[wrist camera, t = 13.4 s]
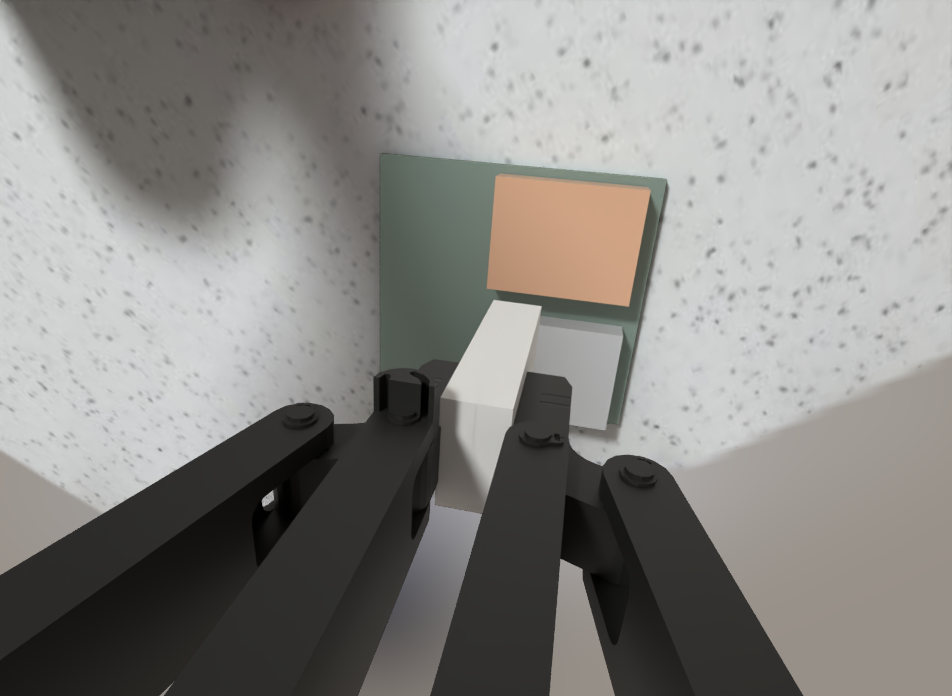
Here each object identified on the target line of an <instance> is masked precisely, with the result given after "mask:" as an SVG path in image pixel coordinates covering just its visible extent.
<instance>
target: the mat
mask: <svg viewBox="0 0 952 696" xmlns="http://www.w3.org/2000/svg"><path fill="white" fill-rule="evenodd" d="M500 173H502V174H513V175H524V176H534V177H545V178H556V179H567V180H577V181H588V182H599V183H610V184H620V185H631V186H642V187H648V188H649V189H650V190H651V192H650V197H649V203H648V208H647V213H646V219H645V224H644V229H643V234H642V240H641V245H640V250H639V256H638V261H637V266H636V271H635V277H634V282H633V287H632V293H631V298H630V303H629V307H628V306H620V305H612V304H604V303H597V302H589V301H581V300H573V299H565V298H557V297H549V296H541V295H533V294H525V293H517V292H509V291H502V290H494V289H487V278H488V266H489V253H490V241H491V228H492V216H493V203H494V191H495V178H496V176H497V175H498V174H500ZM666 183H667V179H663V178H652V177H641V176H630V175H619V174H608V173H596V172H585V171H574V170H563V169H552V168H541V167H530V166H519V165H508V164H497V163H486V162H475V161H464V160H453V159H442V158H431V157H420V156H409V155H398V154H386V153H381V154H380V372H383V371H386V370H389V369H396V368H412V369H417V370H418V369H419V368H420V367H421V366H422V365H423V364H425V363H427V362H429V361H431V360H433V359H437V360H444V361H451V362H458V363H460V361H461V359H462V357H463V355H464V354H465V352H466V350H467V348H468V346H469V344H470V342H471V341H472V339H473V337H474V335H475V333H476V331H477V330H478V328H479V326H480V324H481V322H482V320H483V319H484V317H485V315H486V313H487V311H488V309H489V308H490V306H491V304H492V302H493V300H498V301H505V302H513V303H521V304H528V305H536V306H542V307H541V315H540V316H545V317H553V318H561V319H568V320H576V321H583V322H591V323H598V324H606V325H614V326H621V327H622V331H623V340H622V345H621V351H620V356H619V361H618V366H617V372H616V377H615V382H614V388H613V393H612V398H611V403H610V409H609V414H608V419H607V423H609V424H616V425H618V424H619V419H620V414H621V409H622V404H623V399H624V394H625V388H626V383H627V378H628V373H629V368H630V363H631V358H632V353H633V348H634V343H635V338H636V333H637V328H638V323H639V318H640V313H641V308H642V303H643V298H644V293H645V288H646V283H647V278H648V273H649V268H650V263H651V258H652V253H653V248H654V243H655V238H656V233H657V228H658V223H659V218H660V213H661V208H662V203H663V198H664V193H665V188H666Z"/></svg>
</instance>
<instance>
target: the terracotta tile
mask: <svg viewBox="0 0 952 696" xmlns="http://www.w3.org/2000/svg"><path fill="white" fill-rule="evenodd" d="M650 192H651V190H650V189H649V188H648V187H642V186H631V185H620V184H610V183H599V182H588V181H577V180H567V179H556V178H545V177H534V176H524V175H513V174H502V173H500V174H498V175H497V176H496V178H495V191H494V203H493V216H492V228H491V241H490V253H489V266H488V278H487V289H494V290H502V291H509V292H517V293H525V294H533V295H541V296H549V297H557V298H565V299H573V300H581V301H589V302H597V303H604V304H612V305H620V306H628V307H629V303H630V298H631V293H632V287H633V282H634V277H635V271H636V266H637V261H638V256H639V250H640V245H641V240H642V234H643V229H644V224H645V219H646V213H647V208H648V203H649V197H650Z"/></svg>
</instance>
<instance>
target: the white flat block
mask: <svg viewBox="0 0 952 696" xmlns="http://www.w3.org/2000/svg"><path fill="white" fill-rule="evenodd" d="M622 340H623V331H622V327H621V326H614V325H606V324H598V323H591V322H583V321H576V320H568V319H561V318H553V317H545V316H540V323H539V331H538V339H537V347H536V355H535V363H534V371H533V372H534V373H541V374H548V375H554V376H561V377H565V378H566V379H567V380H568V382H569V383H570V385H571V386H572V398H571V411H570V423H569V425H574V426H580V427H586V428H592V429H599V430H606V425H607V419H608V414H609V409H610V403H611V398H612V393H613V388H614V382H615V377H616V372H617V366H618V361H619V356H620V351H621V345H622Z"/></svg>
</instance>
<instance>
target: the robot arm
mask: <svg viewBox="0 0 952 696" xmlns="http://www.w3.org/2000/svg"><path fill="white" fill-rule="evenodd" d="M541 307H542V306H536V305H528V304H521V303H513V302H505V301H498V300H493V302H492V304H491V306H490V308H489V309H488V311H487V313H486V315H485V317H484V319H483V320H482V322H481V324H480V326H479V328H478V330H477V331H476V333H475V335H474V337H473V339H472V341H471V342H470V344H469V346H468V348H467V350H466V352H465V354H464V355H463V357H462V359H461V361H460V363H458V362H451V361H444V360H437V359H433V360H431V361H429V362H427V363H425V364H423V365H422V366H421V367H420V368H419V369H418V370H417V369H412V368H396V369H389V370H386V371H383V372H380V373H379V374H377V375H376V376H374V412H373V413H372V415H371V416H370V417H369V419H368V420H367V421H366V423H358V424H334V415H333V413H332V412H331V411H330V409H328V408H326V407H324V406H322V405H317V404H312V403H297V404H293V405H288V406H285V407H283V408H280V409H278V410H276V411H274V412H272V413H271V414H269V415H267V416H266V417H264V418H262V419H261V420H259V421H257V422H256V423H254V424H252V425H251V426H249V427H247V428H246V429H244V430H242V431H241V432H239V433H237V434H236V435H234V436H232V437H231V438H229V439H227V440H226V441H224V442H222V443H221V444H219V445H217V446H216V447H214V448H212V449H211V450H209V451H207V452H206V453H204V454H202V455H201V456H199V457H197V458H196V459H194V460H192V461H191V462H189V463H187V464H185V465H184V466H182V467H180V468H179V469H177V470H175V471H174V472H172V473H170V474H169V475H167V476H165V477H164V478H162V479H160V480H159V481H157V482H155V483H154V484H152V485H150V486H149V487H147V488H145V489H144V490H142V491H140V492H139V493H137V494H135V495H134V496H132V497H130V498H129V499H127V500H125V501H124V502H122V503H120V504H119V505H117V506H115V507H114V508H112V509H110V510H109V511H107V512H105V513H104V514H102V515H100V516H99V517H97V518H95V519H93V520H92V521H90V522H89V523H87V524H85V525H83V526H82V527H80V528H78V529H77V530H75V531H73V532H72V533H71V534H68V535H67V536H65V537H63V538H62V539H60V540H58V541H57V542H55V543H53V544H52V545H50V546H48V547H47V548H45V549H43V550H42V551H40V552H38V553H37V554H35V555H33V556H32V557H30V558H28V559H27V560H25V561H23V562H22V563H20V564H18V565H17V566H15V567H13V568H12V569H10V570H8V571H7V572H5V573H3V574H1V575H0V696H159V695H160V694H162V692H164V691H165V690H166V689H167V688H168V687H169V686H170V685H171V684H172V683H173V682H174V683H173V684H172V685H171V687H170V688H169V690H168V691H167V692H166V694H165V695H164V696H358V694H359V692H360V689H361V687H362V684H363V681H364V679H365V677H366V674H367V672H368V670H369V667H370V665H371V662H372V660H373V657H374V655H375V652H376V650H377V647H378V645H379V642H380V640H381V637H382V635H383V632H384V630H385V627H386V625H387V623H388V620H389V618H390V615H391V613H392V610H393V608H394V605H395V603H396V600H397V598H398V595H399V592H400V590H401V588H402V585H403V583H404V580H405V578H406V576H407V573H408V570H409V568H410V566H411V563H412V561H413V558H414V556H415V553H416V551H417V548H418V546H419V543H420V541H421V538H422V536H423V533H424V531H425V528H426V526H427V524H428V521H429V513H430V500H431V497H432V495H433V493H434V490H435V488H436V495H435V505H438V506H444V507H449V508H454V509H459V510H465V511H470V512H475V513H480V514H482V517H481V520H480V524H479V527H478V531H477V534H476V538H475V541H474V545H473V548H472V552H471V555H470V559H469V562H468V566H467V569H466V573H465V576H464V580H463V583H462V587H461V590H460V594H459V597H458V601H457V604H456V608H455V611H454V615H453V618H452V622H451V625H450V629H449V632H448V636H447V639H446V643H445V646H444V650H443V653H442V657H441V660H440V664H439V667H438V671H437V674H436V678H435V681H434V685H433V688H432V692H431V695H430V696H549V692H550V679H551V667H552V655H553V642H554V631H555V618H556V606H557V594H558V581H559V567H560V559H563V560H565V561H567V562H569V563H571V564H573V565H575V566H578V567H580V568H582V569H583V582H584V585H585V589H586V593H587V596H588V600H589V604H590V607H591V611H592V614H593V618H594V622H595V625H596V629H597V632H598V636H599V640H600V643H601V647H602V650H603V654H604V658H605V661H606V665H607V668H608V672H609V676H610V679H611V683H612V686H613V690H614V693H615V696H803V695H802V693H801V691H800V689H799V688H798V686H797V685H796V683H795V681H794V680H793V678H792V676H791V674H790V673H789V671H788V669H787V668H786V666H785V664H784V663H783V661H782V659H781V657H780V656H779V654H778V653H777V651H776V649H775V647H774V646H773V644H772V642H771V641H770V639H769V637H768V636H767V634H766V632H765V631H764V629H763V627H762V626H761V624H760V622H759V621H758V619H757V617H756V615H755V614H754V612H753V610H752V609H751V607H750V605H749V604H748V602H747V600H746V599H745V597H744V595H743V594H742V592H741V590H740V589H739V587H738V585H737V584H736V582H735V580H734V579H733V577H732V575H731V573H730V572H729V571H728V569H727V567H726V565H725V563H724V562H723V560H722V558H721V557H720V555H719V553H718V552H717V550H716V548H715V547H714V545H713V543H712V542H711V540H710V538H709V537H708V535H707V533H706V532H705V530H704V528H703V526H702V525H701V523H700V521H699V520H698V518H697V516H696V515H695V513H694V511H693V510H692V508H691V507H690V505H689V503H688V501H687V500H686V498H685V497H684V495H683V493H682V491H681V490H680V488H679V486H678V484H677V483H676V481H675V479H674V478H673V476H672V475H671V474H670V473H669V472H668V471H667V469H666V468H664V467H663V466H661V465H659V464H658V463H656V462H655V461H652V460H650V459H646V458H644V457H641V456H633V455H619V456H615V457H612V458H610V459H608V460H607V461H606V463H605V464H604V465H603V466H600V465H597V464H595V463H592V462H590V461H588V460H586V459H584V458H583V457H581V456H580V455H578V454H577V453H576V452H575V451H574V450H573V449H572V447H571V446H570V443H569V439H568V435H569V423H570V411H571V398H572V386H571V385H570V383H569V382H568V380H567V379H566V378H565V377H561V376H554V375H548V374H541V373H534V372H533V371H534V363H535V355H536V347H537V339H538V331H539V323H540V315H541ZM272 490H273V494H274V500H273V501H272V502H271V503H269V504H268V505H266V506H264V507H263V506H262V499H263V498H264V497H265V496H266V495H267V494H269V493H270V492H271V491H272Z"/></svg>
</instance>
